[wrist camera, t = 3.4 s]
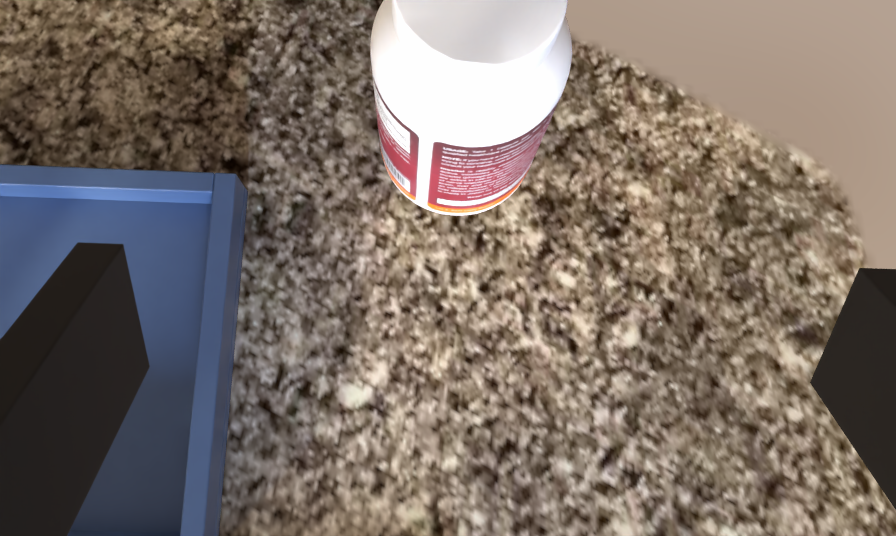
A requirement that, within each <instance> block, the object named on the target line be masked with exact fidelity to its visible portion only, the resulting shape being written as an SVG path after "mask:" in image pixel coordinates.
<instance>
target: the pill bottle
mask: <svg viewBox="0 0 896 536" xmlns="http://www.w3.org/2000/svg"><path fill="white" fill-rule="evenodd" d="M567 1H568V0H383V2H382V4H381V6H380V8H379V10H378V12H377V15H376V18H375V21H374V24H373V28H372V33H371V67H372V76H373V84H374V94H375V103H376V112H377V122H378V131H379V141H380V149H381V154H382V158H383V161H384V164H385V167H386V170H387V172H388V174H389V176H390V177H391V179H392V181H393V182H394V184H395V185H396V186H397V188H398V189H399V190H400V191H401V192H402V193H403V194H404V195H405V196H406V197H408V198H409V199H410V200H411V201H413V202H414V203H416V204H417V205H419V206H421V207H423V208H425V209H427V210H430V211H433V212H436V213H440V214H446V215H471V214H476V213H480V212H483V211H486V210H489V209H491V208H493V207H495V206H497V205H499V204H500V203H502V202H503V201H505V200H506V199H507V198H508V197H509V196H510V195H512V193H513V192H514V191H515V190H516V189H517V188H518V187H519V185H520V184H521V182H522V181H523V179H524V177H525V176H526V174H527V172H528V170H529V168H530V166H531V163H532V161H533V159H534V156H535V154H536V152H537V150H538V147H539V145H540V143H541V140H542V138H543V136H544V134H545V132H546V129H547V127H548V125H549V123H550V120H551V118H552V115H553V113H554V111H555V108H556V106H557V104H558V102H559V100H560V98H561V95H562V92H563V90H564V87H565V85H566V81H567V79H568V76H569V71H570V66H571V59H572V41H571V34H570V29H569V25H568V22H567V19H566V16H565V14H566V9H567V3H568V2H567Z"/></svg>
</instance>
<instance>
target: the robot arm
mask: <svg viewBox="0 0 896 536" xmlns="http://www.w3.org/2000/svg"><path fill="white" fill-rule="evenodd" d="M149 367H150V365H149V361H148V356H147V352H146V347H145V342H144V338H143V333H142V328H141V324H140V319H139V315H138V310H137V305H136V301H135V296H134V291H133V287H132V282H131V278H130V273H129V268H128V264H127V259H126V254H125V250H124V245H123V244H113V243H83V242H77V244H76V245H75V246H74V247H73V249H72V250H71V251H70V253H69V254H68V255H67V256H66V258H65V259H64V260H63V261H62V263H61V264H60V265H59V266H58V268H57V269H56V270H55V271H54V273H53V274H52V275H51V276H50V278H49V279H48V280H47V282H46V283H45V284H44V285H43V287H42V288H41V289H40V290H39V292H38V293H37V294H36V295H35V297H34V298H33V299H32V300H31V302H30V303H29V304H28V305H27V307H26V308H25V309H24V310H23V312H22V313H21V314H20V316H19V317H18V318H17V319H16V321H15V322H14V323H13V324H12V326H11V327H10V328H9V329H8V331H7V332H6V333H5V334H4V336H3V337H2V338H1V339H0V536H67V535H68V533H69V531H70V529H71V527H72V525H73V523H74V521H75V519H76V517H77V515H78V513H79V511H80V509H81V507H82V504H83V502H84V500H85V498H86V496H87V494H88V492H89V490H90V488H91V486H92V484H93V482H94V480H95V478H96V476H97V474H98V472H99V470H100V468H101V466H102V464H103V461H104V459H105V457H106V455H107V453H108V451H109V449H110V447H111V445H112V443H113V441H114V439H115V437H116V435H117V433H118V431H119V429H120V427H121V425H122V423H123V421H124V418H125V416H126V414H127V412H128V410H129V408H130V406H131V404H132V402H133V400H134V398H135V396H136V394H137V392H138V390H139V388H140V386H141V384H142V382H143V380H144V378H145V376H146V373H147V371H148V369H149ZM810 383H811V384H812V386H813V387H814V389H815V390H816V392H817V393H818V395H819V396H820V398H821V399H822V401H823V402H824V404H825V405H826V407H827V408H828V410H829V411H830V413H831V414H832V416H833V417H834V419H835V420H836V422H837V423H838V425H839V426H840V428H841V429H842V431H843V432H844V434H845V435H846V436H847V438H848V439H849V441H850V442H851V444H852V445H853V447H854V448H855V450H856V451H857V453H858V454H859V456H860V457H861V459H862V460H863V462H864V463H865V465H866V466H867V468H868V469H869V471H870V472H871V474H872V475H873V477H874V478H875V480H876V481H877V483H878V484H879V486H880V487H881V489H882V490H883V492H884V493H885V494H886V496H887V497H888V499H889V500H890V502H891V503H892V505H893V506H894V508H895V509H896V269H872V268H859V271H858V273H857V275H856V277H855V280H854V282H853V284H852V287H851V289H850V291H849V294H848V296H847V298H846V301H845V303H844V305H843V308H842V310H841V312H840V315H839V317H838V319H837V322H836V324H835V326H834V328H833V331H832V333H831V335H830V338H829V340H828V342H827V345H826V347H825V349H824V352H823V354H822V356H821V359H820V361H819V363H818V366H817V368H816V370H815V372H814V375H813V377H812V379H811V382H810Z"/></svg>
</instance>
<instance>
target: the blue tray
mask: <svg viewBox="0 0 896 536" xmlns="http://www.w3.org/2000/svg"><path fill="white" fill-rule="evenodd" d="M247 196H248V191H247V189H246V188H245V187H244V185H243V184H242V182H241V181H240V179H239V178H238V176H237V175H236V174H235V173H215V174H214V173H211V172H185V171H160V170H135V169H109V168H84V167H58V166H33V165H8V164H0V339H1V338H2V337H3V336H4V334H5V333H6V332H7V331H8V329H9V328H10V327H11V326H12V324H13V323H14V322H15V321H16V319H17V318H18V317H19V316H20V314H21V313H22V312H23V310H24V309H25V308H26V307H27V305H28V304H29V303H30V302H31V300H32V299H33V298H34V297H35V295H36V294H37V293H38V292H39V290H40V289H41V288H42V287H43V285H44V284H45V283H46V282H47V280H48V279H49V278H50V276H51V275H52V274H53V273H54V271H55V270H56V269H57V268H58V266H59V265H60V264H61V263H62V261H63V260H64V259H65V258H66V256H67V255H68V254H69V253H70V251H71V250H72V249H73V247H74V246H75V245H76V244H77V242H83V243H113V244H123V245H124V250H125V254H126V259H127V264H128V268H129V273H130V278H131V282H132V287H133V291H134V296H135V301H136V305H137V310H138V315H139V319H140V324H141V328H142V333H143V338H144V342H145V347H146V352H147V356H148V361H149V365H150V367H149V369H148V371H147V373H146V376H145V378H144V380H143V382H142V384H141V386H140V388H139V390H138V392H137V394H136V396H135V398H134V400H133V402H132V404H131V406H130V408H129V410H128V412H127V414H126V416H125V418H124V421H123V423H122V425H121V427H120V429H119V431H118V433H117V435H116V437H115V439H114V441H113V443H112V445H111V447H110V449H109V451H108V453H107V455H106V457H105V459H104V461H103V464H102V466H101V468H100V470H99V472H98V474H97V476H96V478H95V480H94V482H93V484H92V486H91V488H90V490H89V492H88V494H87V496H86V498H85V500H84V502H83V504H82V507H81V509H80V511H79V513H78V515H77V517H76V519H75V521H74V523H73V525H72V527H71V529H70V531H69V533H68V535H67V536H219V526H220V514H221V502H222V491H223V479H224V467H225V455H226V444H227V432H228V420H229V408H230V396H231V385H232V373H233V361H234V349H235V338H236V326H237V314H238V302H239V290H240V279H241V267H242V255H243V243H244V232H245V220H246V208H247Z"/></svg>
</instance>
